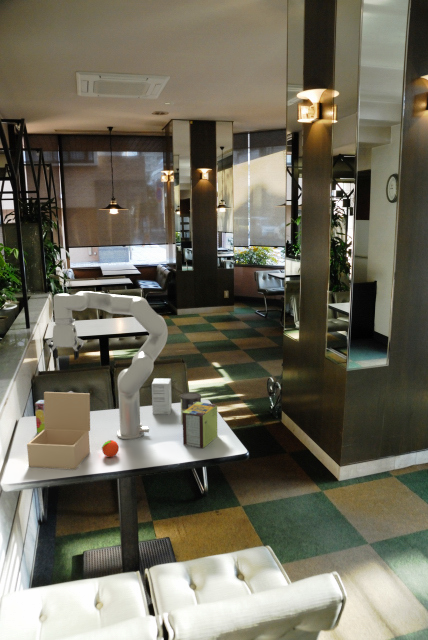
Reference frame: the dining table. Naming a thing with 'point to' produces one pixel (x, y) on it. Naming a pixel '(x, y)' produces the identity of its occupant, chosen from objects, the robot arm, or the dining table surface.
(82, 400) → the lid flap
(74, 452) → the carton
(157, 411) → the supplement box
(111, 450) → the clementine
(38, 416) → the snack box
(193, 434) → the protein box
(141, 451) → the dining table surface
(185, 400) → the coffee can
